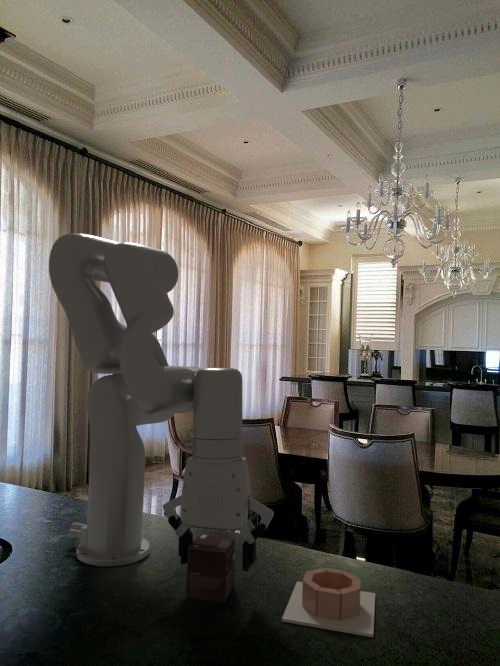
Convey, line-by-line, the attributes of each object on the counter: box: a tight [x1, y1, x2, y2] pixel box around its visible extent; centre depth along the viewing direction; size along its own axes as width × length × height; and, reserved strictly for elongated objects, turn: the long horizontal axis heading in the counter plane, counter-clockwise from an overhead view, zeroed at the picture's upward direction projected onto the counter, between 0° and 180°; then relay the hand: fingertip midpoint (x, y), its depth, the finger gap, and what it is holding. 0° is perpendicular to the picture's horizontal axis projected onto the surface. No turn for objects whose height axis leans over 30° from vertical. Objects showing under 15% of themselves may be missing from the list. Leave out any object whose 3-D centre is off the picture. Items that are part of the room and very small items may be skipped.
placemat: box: [281, 580, 376, 638], centre depth 72 cm, size 12×12×1 cm
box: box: [185, 534, 236, 603], centre depth 76 cm, size 6×6×7 cm
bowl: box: [302, 567, 362, 621], centre depth 73 cm, size 8×8×4 cm
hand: (216, 564), depth 76 cm, fingers open, 9 cm apart
